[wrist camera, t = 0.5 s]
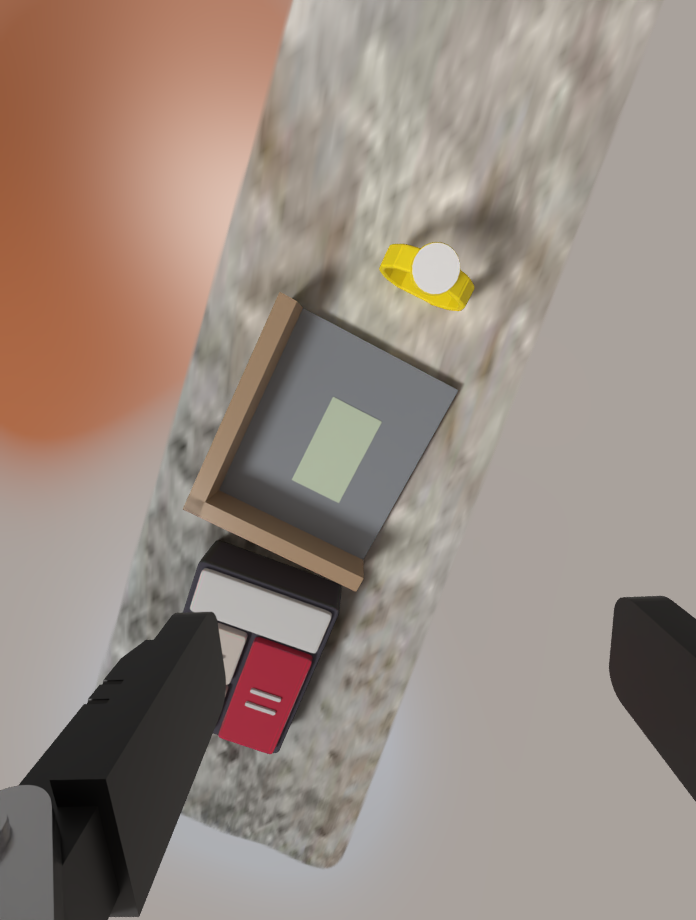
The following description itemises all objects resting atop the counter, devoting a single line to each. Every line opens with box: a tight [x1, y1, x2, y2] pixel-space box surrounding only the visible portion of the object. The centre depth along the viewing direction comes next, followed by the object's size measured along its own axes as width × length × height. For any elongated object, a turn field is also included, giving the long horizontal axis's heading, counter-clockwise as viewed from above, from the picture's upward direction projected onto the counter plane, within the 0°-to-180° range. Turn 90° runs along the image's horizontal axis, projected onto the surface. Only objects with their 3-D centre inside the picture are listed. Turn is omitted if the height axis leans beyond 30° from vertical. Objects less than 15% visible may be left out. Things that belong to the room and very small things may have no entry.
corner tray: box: [183, 292, 458, 592], centre depth 30 cm, size 16×14×4 cm
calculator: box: [183, 541, 341, 754], centre depth 34 cm, size 11×4×15 cm
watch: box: [379, 242, 474, 311], centre depth 27 cm, size 6×3×6 cm, turn 65°
